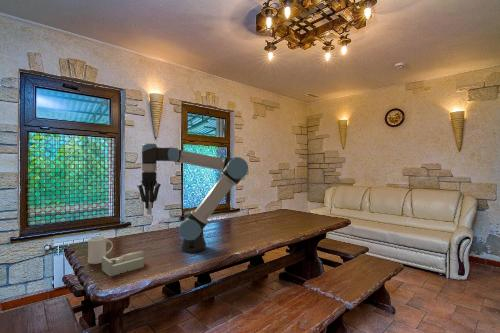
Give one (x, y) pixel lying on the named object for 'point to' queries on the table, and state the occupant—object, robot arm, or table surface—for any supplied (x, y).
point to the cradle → (120, 265)
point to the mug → (97, 249)
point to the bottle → (129, 257)
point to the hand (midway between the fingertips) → (149, 214)
